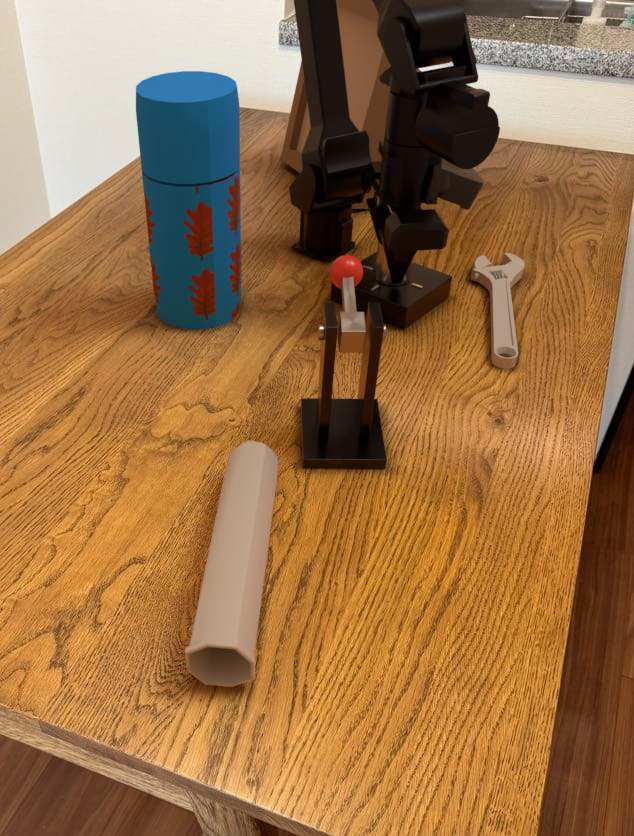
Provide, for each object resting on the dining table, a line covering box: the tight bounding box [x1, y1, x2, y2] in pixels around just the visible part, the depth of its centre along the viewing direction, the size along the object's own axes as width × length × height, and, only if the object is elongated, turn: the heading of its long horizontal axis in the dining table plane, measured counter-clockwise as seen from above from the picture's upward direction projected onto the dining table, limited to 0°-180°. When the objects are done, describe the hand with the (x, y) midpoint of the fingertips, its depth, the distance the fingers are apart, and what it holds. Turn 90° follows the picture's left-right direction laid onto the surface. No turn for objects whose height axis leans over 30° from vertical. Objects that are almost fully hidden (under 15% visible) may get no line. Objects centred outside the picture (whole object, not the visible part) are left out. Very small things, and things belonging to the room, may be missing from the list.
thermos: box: [135, 70, 242, 331], centre depth 89 cm, size 11×11×25 cm
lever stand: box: [300, 301, 388, 470], centre depth 74 cm, size 10×8×14 cm
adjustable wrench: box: [469, 252, 526, 370], centre depth 95 cm, size 25×6×2 cm, turn 164°
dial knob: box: [374, 237, 415, 286], centre depth 94 cm, size 4×4×5 cm
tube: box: [184, 439, 279, 688], centre depth 66 cm, size 5×5×25 cm
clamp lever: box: [329, 254, 366, 354], centre depth 73 cm, size 12×3×3 cm, turn 178°
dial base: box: [329, 251, 453, 331], centre depth 97 cm, size 11×10×3 cm
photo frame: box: [280, 0, 391, 210], centre depth 116 cm, size 15×22×25 cm
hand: (392, 273), depth 96 cm, fingers closed on dial knob, 4 cm apart
